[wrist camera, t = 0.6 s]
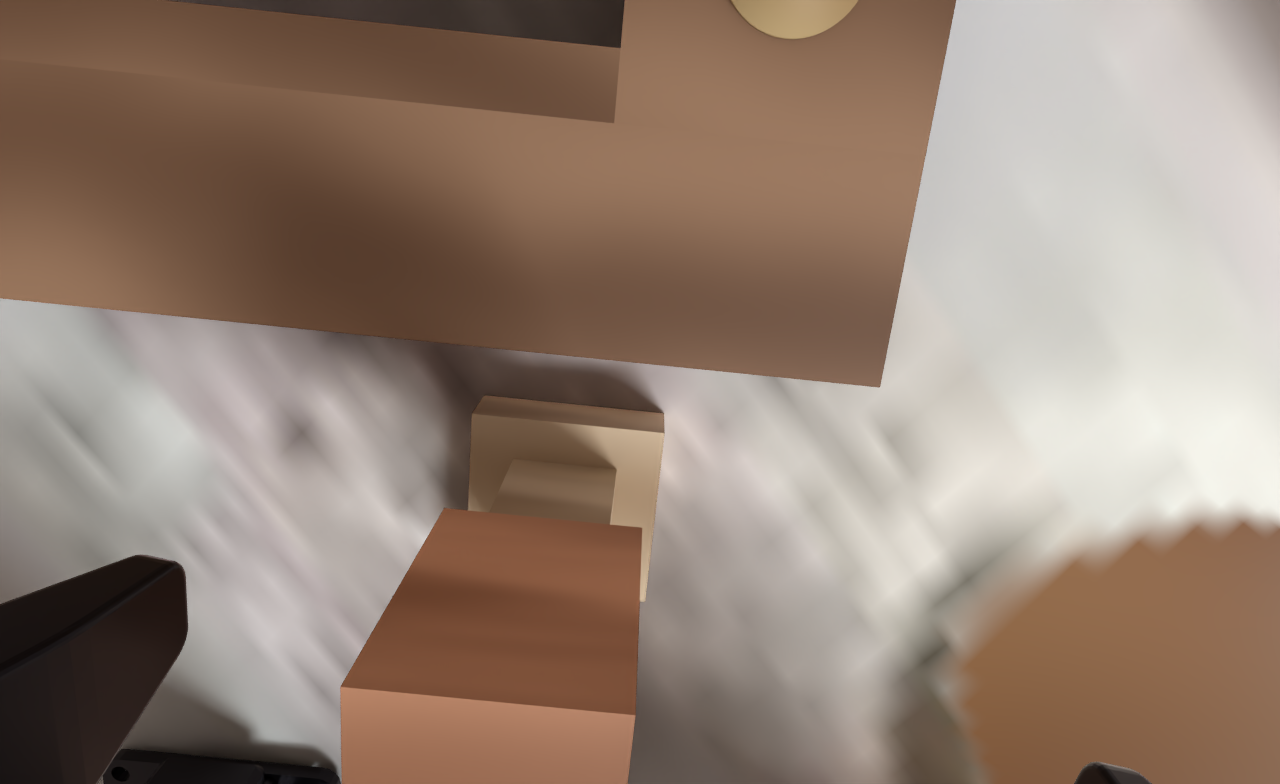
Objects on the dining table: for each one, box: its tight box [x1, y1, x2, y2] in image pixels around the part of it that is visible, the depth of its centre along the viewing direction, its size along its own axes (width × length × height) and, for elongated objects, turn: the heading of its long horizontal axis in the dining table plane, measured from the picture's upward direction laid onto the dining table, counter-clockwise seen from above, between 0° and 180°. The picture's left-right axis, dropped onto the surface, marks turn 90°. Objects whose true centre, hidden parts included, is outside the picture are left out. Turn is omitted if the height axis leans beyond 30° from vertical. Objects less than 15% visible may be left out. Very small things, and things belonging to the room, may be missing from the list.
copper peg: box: [340, 395, 664, 784], centre depth 15 cm, size 4×4×10 cm
